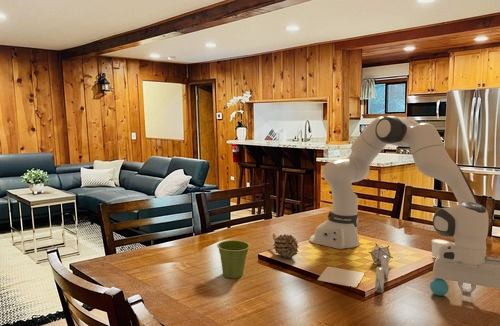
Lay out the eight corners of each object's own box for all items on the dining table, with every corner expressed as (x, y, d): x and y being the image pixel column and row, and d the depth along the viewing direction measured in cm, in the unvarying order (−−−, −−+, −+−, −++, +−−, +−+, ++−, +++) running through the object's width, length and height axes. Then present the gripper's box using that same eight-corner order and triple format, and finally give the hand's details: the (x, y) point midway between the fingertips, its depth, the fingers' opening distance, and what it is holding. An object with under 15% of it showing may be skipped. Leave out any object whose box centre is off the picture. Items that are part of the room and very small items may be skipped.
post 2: (379, 278, 144) (380, 257, 143) (380, 275, 146) (381, 254, 145) (387, 279, 143) (388, 258, 142) (388, 277, 145) (389, 255, 144)
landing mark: (317, 280, 142) (317, 279, 142) (327, 266, 154) (327, 266, 154) (357, 288, 136) (357, 287, 136) (364, 273, 148) (364, 273, 148)
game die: (380, 275, 156) (377, 260, 150) (366, 261, 162) (362, 246, 156) (398, 263, 157) (396, 248, 151) (383, 249, 164) (381, 234, 158)
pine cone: (304, 261, 159) (305, 237, 158) (283, 264, 156) (284, 240, 155) (280, 244, 180) (280, 223, 178) (260, 247, 176) (260, 225, 175)
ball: (429, 296, 130) (430, 280, 129) (429, 289, 135) (430, 274, 134) (448, 300, 128) (449, 283, 127) (447, 293, 132) (449, 277, 132)
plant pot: (237, 284, 137) (238, 252, 136) (210, 276, 144) (210, 246, 142) (255, 273, 147) (255, 243, 146) (229, 266, 154) (229, 238, 152)
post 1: (374, 292, 133) (375, 269, 132) (375, 289, 135) (376, 266, 134) (382, 293, 132) (383, 270, 131) (383, 290, 134) (384, 267, 133)
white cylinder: (450, 261, 162) (452, 244, 161) (432, 259, 163) (433, 243, 163) (446, 255, 169) (447, 239, 168) (428, 254, 170) (429, 238, 169)
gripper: (506, 256, 125) (502, 298, 126) (434, 246, 133) (431, 285, 135) (509, 263, 119) (505, 306, 121) (434, 252, 128) (431, 293, 129)
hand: (465, 295), depth 128 cm, fingers closed
